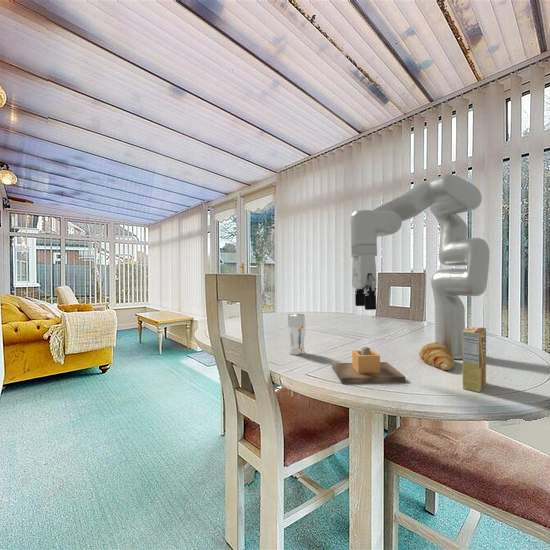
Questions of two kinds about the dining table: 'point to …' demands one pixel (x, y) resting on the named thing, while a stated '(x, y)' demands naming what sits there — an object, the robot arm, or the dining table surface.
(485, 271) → the robot arm
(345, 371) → the post board
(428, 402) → the dining table surface
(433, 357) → the croissant
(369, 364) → the collar
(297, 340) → the beer glass
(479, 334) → the candy box
